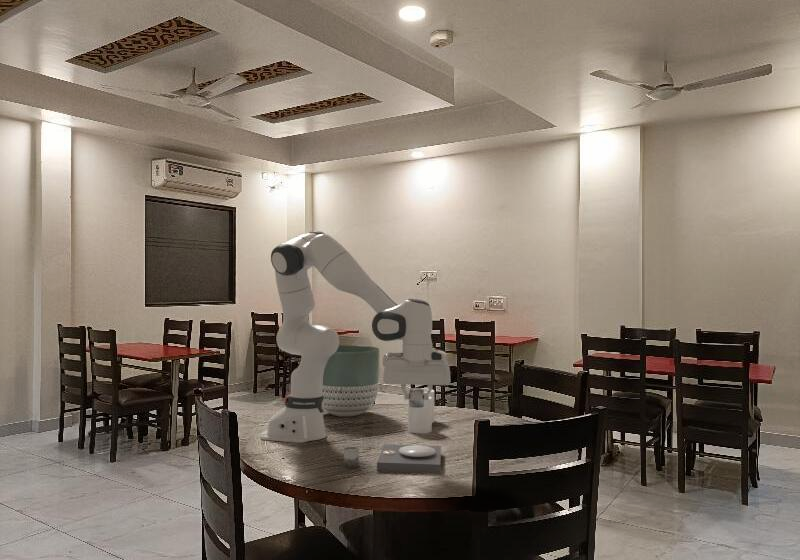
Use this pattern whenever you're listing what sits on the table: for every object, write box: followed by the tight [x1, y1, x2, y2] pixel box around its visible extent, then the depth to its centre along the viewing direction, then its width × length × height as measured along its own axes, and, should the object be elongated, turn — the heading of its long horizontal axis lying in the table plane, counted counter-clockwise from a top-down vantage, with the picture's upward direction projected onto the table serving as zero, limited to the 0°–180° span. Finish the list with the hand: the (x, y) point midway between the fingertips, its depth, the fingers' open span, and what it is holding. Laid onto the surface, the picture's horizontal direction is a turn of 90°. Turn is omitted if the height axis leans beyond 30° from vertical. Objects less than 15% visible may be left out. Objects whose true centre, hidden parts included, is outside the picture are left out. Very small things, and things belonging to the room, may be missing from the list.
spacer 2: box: [408, 387, 425, 408], centre depth 187 cm, size 4×4×5 cm
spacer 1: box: [343, 446, 360, 470], centre depth 183 cm, size 4×4×5 cm
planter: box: [323, 344, 380, 418], centre depth 254 cm, size 27×27×27 cm
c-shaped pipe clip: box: [407, 387, 435, 434], centre depth 237 cm, size 25×10×12 cm, turn 176°
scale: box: [376, 443, 442, 474], centre depth 188 cm, size 18×20×4 cm
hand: (416, 399), depth 187 cm, fingers closed on spacer 2, 4 cm apart
